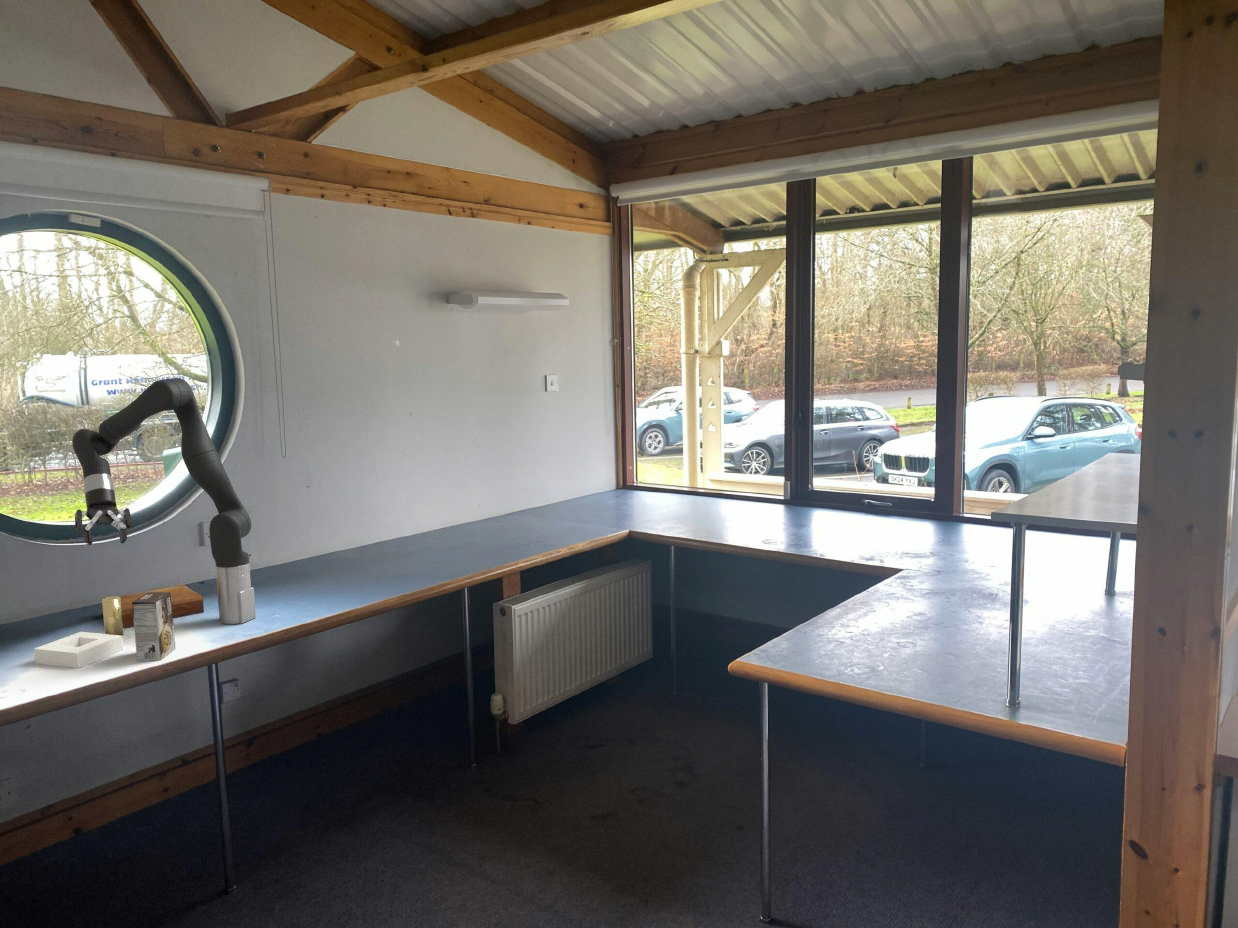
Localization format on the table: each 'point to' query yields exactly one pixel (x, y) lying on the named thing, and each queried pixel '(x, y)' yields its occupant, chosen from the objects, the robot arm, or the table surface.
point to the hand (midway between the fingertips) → (106, 543)
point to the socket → (78, 649)
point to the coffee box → (153, 626)
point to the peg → (112, 615)
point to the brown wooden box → (181, 601)
